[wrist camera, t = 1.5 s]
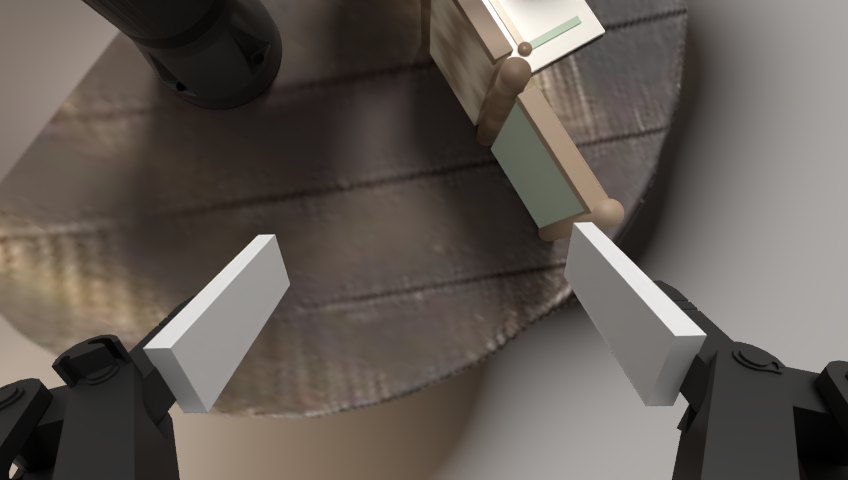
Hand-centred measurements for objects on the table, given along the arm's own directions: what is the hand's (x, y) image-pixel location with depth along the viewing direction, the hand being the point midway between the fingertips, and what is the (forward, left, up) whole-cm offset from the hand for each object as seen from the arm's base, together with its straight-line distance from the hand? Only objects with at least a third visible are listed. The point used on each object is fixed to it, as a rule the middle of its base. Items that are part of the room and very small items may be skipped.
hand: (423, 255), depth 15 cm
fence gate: (-4, +14, -23) cm, 28 cm away
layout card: (-24, +24, -24) cm, 41 cm away
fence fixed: (-19, +12, -24) cm, 33 cm away
